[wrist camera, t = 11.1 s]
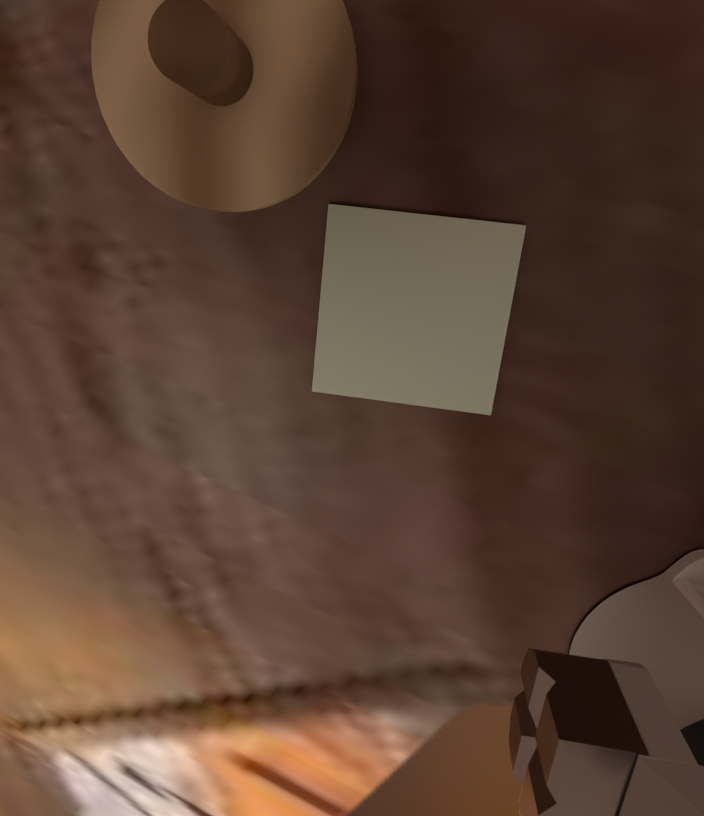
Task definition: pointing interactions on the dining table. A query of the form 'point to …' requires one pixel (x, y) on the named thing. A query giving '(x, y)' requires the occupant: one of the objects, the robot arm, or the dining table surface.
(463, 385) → the mat
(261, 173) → the lid
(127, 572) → the dining table surface
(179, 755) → the dining table surface
